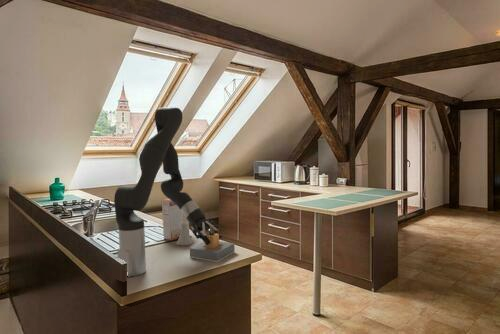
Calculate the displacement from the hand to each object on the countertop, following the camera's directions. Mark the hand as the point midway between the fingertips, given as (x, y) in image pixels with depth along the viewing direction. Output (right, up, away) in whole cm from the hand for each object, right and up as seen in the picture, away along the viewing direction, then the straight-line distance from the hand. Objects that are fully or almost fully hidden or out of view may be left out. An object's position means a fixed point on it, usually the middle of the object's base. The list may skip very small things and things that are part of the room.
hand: (214, 241), depth 147 cm
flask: (-17, -5, +19) cm, 25 cm away
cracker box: (-23, -5, +31) cm, 39 cm away
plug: (-1, -6, +1) cm, 6 cm away
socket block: (-1, -6, +1) cm, 6 cm away
